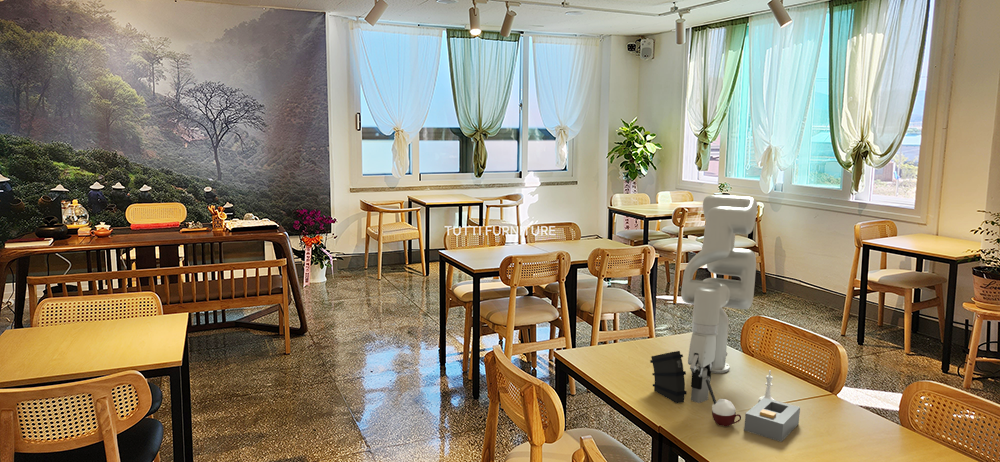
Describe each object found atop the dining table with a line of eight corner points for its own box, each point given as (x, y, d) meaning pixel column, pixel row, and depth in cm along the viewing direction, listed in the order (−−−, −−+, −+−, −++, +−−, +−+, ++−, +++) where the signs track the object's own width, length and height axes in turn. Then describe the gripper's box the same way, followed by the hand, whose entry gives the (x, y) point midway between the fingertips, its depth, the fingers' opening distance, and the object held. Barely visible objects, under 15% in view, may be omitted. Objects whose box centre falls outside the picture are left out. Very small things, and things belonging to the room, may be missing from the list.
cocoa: (743, 426, 186) (746, 385, 185) (729, 432, 183) (733, 390, 181) (713, 414, 194) (716, 374, 192) (700, 420, 190) (703, 379, 188)
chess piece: (775, 400, 206) (778, 369, 204) (776, 406, 201) (779, 374, 200) (758, 397, 208) (761, 366, 206) (758, 403, 203) (761, 372, 201)
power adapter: (709, 399, 205) (712, 361, 203) (698, 403, 202) (701, 365, 200) (700, 395, 208) (703, 358, 206) (689, 399, 204) (692, 362, 202)
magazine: (683, 403, 198) (671, 351, 201) (656, 405, 209) (645, 357, 213) (693, 401, 199) (681, 350, 203) (665, 404, 211) (655, 356, 214)
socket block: (762, 413, 196) (764, 394, 195) (798, 423, 189) (800, 404, 188) (743, 430, 184) (745, 410, 183) (781, 441, 178) (783, 421, 177)
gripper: (704, 319, 210) (700, 374, 213) (680, 331, 197) (676, 389, 200) (728, 324, 205) (723, 380, 208) (705, 337, 192) (700, 396, 195)
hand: (700, 384), depth 204 cm, fingers closed on power adapter, 5 cm apart
